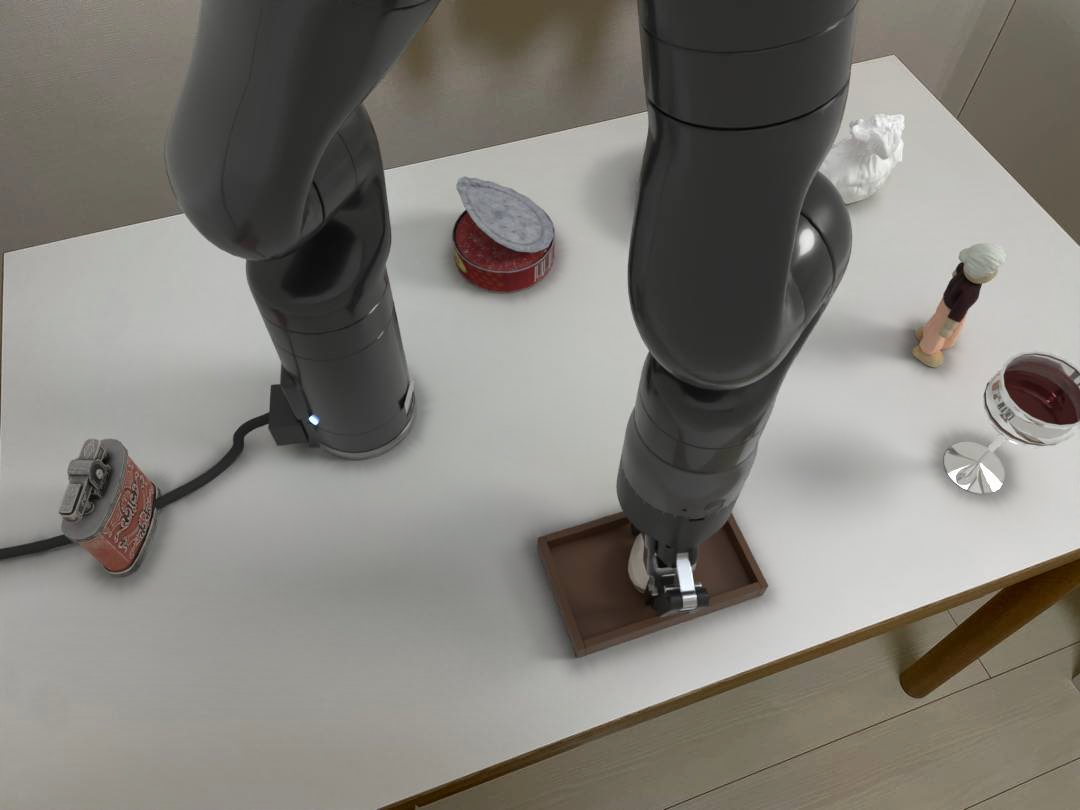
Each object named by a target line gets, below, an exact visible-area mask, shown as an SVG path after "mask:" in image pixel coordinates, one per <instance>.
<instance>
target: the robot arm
mask: <svg viewBox="0 0 1080 810" xmlns="http://www.w3.org/2000/svg"><path fill="white" fill-rule="evenodd" d="M441 2H442V0H200V1H199V8H198V14H197V21H196V28H195V34H194V41H193V45H192V50H191V54H190V58H189V61H188V65H187V68H186V72H185V75H184V77H183V80H182V84H181V87H180V90H179V93H178V97H177V100H176V103H175V105H174V108H173V112H172V114H171V116H170V120H169V123H168V127H167V130H166V134H165V138H164V145H163V160H164V166H165V172H166V176H167V179H168V182H169V183H168V184H169V185H170V189H171V191H172V193H173V195H174V198H175V200H176V202H177V204H178V206H179V207H180V209H181V211H182V212H183V214H184V215H185V217H186V218H187V220H188V221H189V222H190V224H191V225H192V226H193V227H194V228H195V230H197V232H198V233H199V234H200V235H201V236H202V237H203V238H204V239H206V240H207V241H208V242H209V243H211V244H212V245H213V246H215V247H216V248H218V249H220V251H223V252H225V253H227V254H229V255H231V256H233V257H236V258H240V259H243V260H245V276H246V277H245V278H246V282H247V285H248V288H249V290H250V293H251V296H252V298H253V300H254V302H255V305H256V307H257V309H258V311H259V314H260V316H261V318H262V321H263V323H264V326H265V328H266V330H267V332H268V335H269V337H270V340H271V342H272V344H273V346H274V349H275V351H276V353H277V356H278V358H279V361H280V375H279V383H275V384H271V385H270V391H269V393H270V395H269V408H268V409H269V411H268V412H266V413H264V414H261V415H258V416H256V417H253V418H250V419H249V420H247V421H245V422H243V423H242V424H241V425H240V426H239V427H238V428H237V429H235V432H233V436H232V446H231V447H230V449H229V450H228V451H227V453H226V454H225V455H224V456H223V457H222V458H221V459H220V460H219V461H218V462H216V463H215V464H214V465H213V466H212V467H211V468H209V469H208V470H206V471H205V472H203V473H201V474H200V475H199V476H197V477H195V478H193V479H191V480H190V481H188V482H187V483H184V484H182V485H180V486H179V487H177V488H175V489H173V490H171V491H169V492H167V493H164V494H163V495H161V497H159V498H157V499H155V500H153V509H154V508H155V507H156V509H157V510H159V509H160V510H161V509H162V508H164V507H167V506H169V505H171V504H172V503H174V502H176V501H179V500H180V499H183V498H185V497H187V496H188V495H190V494H192V493H193V492H196V491H197V490H199V489H201V488H203V487H204V486H206V485H207V484H209V483H210V482H212V481H213V480H215V479H216V478H218V477H219V476H220V475H221V474H222V473H223V472H225V471H226V470H227V469H228V468H229V467H230V466H231V465H232V464H233V463H234V462H236V460H237V459H238V457H239V456H240V455H241V453H242V452H243V450H244V448H245V437H246V436H247V435H249V433H251V432H253V431H254V430H257V429H259V428H261V427H265V426H267V427H268V430H269V433H270V434H271V437H272V439H273V441H274V442H275V445H276V446H277V447H279V446H281V447H282V446H290V445H291V446H292V445H301V444H302V445H303V444H306V446H307V448H311V449H312V448H320V449H322V450H323V451H324V452H326V453H328V454H330V455H332V456H335V457H337V458H341V459H347V460H367V459H370V458H371V459H372V458H374V457H378V456H380V455H383V454H385V453H387V452H389V451H391V450H392V449H394V448H395V447H397V446H398V445H399V444H400V443H402V441H403V440H404V439H405V438H407V436H408V434H409V433H410V431H411V430H412V429H413V426H414V424H415V421H416V416H417V400H416V395H415V392H414V389H415V381H414V376H413V375H411V377H410V373H409V368H408V362H407V358H406V353H405V349H404V344H403V343H404V342H403V338H402V335H401V328H400V325H399V320H398V315H397V311H396V306H395V300H394V296H393V292H392V287H391V282H390V277H389V272H388V267H387V262H388V258H389V256H390V252H391V247H392V239H393V237H392V226H391V225H392V224H391V217H390V209H389V208H390V207H389V200H388V191H387V184H386V177H385V176H386V175H385V170H384V164H383V163H384V162H383V161H384V160H383V156H382V152H381V147H380V143H379V139H378V136H377V133H376V130H375V127H374V124H373V122H372V119H371V116H370V114H369V112H368V110H367V108H366V106H365V104H364V102H365V100H367V98H368V97H369V96H370V95H371V93H372V92H373V91H374V90H375V89H376V88H377V86H379V85H380V83H381V82H382V81H383V79H384V78H385V77H386V76H387V74H388V73H389V72H390V71H391V70H392V69H393V68H394V66H395V65H396V64H397V62H398V61H399V60H400V58H401V57H402V56H403V54H404V53H405V52H406V50H407V49H408V48H409V46H410V45H411V43H413V41H414V39H415V38H416V37H417V35H418V34H419V33H420V31H421V30H422V29H423V28H424V26H425V25H426V23H428V21H429V20H430V18H431V17H432V15H433V13H434V12H435V11H436V9H437V8H438V6H439V5H440V3H441ZM859 3H860V0H636V5H637V17H638V20H637V21H638V29H639V31H638V32H639V42H640V53H641V63H642V64H641V66H642V74H643V77H642V78H643V85H644V93H645V94H644V97H645V103H646V105H645V106H646V111H647V119H648V120H647V121H648V123H647V124H648V127H647V135H646V141H645V147H644V151H643V155H644V156H642V161H641V164H640V170H639V176H638V181H637V187H636V195H635V205H634V210H633V218H632V224H631V232H630V239H629V248H628V258H627V293H628V300H629V306H630V311H631V316H632V318H633V321H634V325H635V327H636V329H637V332H638V334H639V336H640V338H641V340H642V342H643V344H644V346H645V347H646V348H647V350H648V351H647V354H646V356H645V359H644V362H643V365H642V368H641V372H640V378H639V382H638V389H637V394H636V397H635V404H634V406H633V408H632V410H631V413H630V415H629V417H628V420H627V424H626V427H625V433H624V438H623V444H622V449H621V455H620V459H619V465H618V471H617V476H616V484H615V487H616V497H617V501H618V504H619V506H620V508H621V510H622V511H623V512H624V514H625V515H626V517H627V518H628V520H629V521H630V522H631V531H632V535H634V536H638V535H639V534H640V533H641V534H642V537H643V541H644V552H643V562H644V565H645V569H646V572H647V575H648V576H649V580H648V583H647V586H646V589H645V592H644V600H645V605H651V607H652V609H653V610H654V612H655V613H656V616H657V618H659V617H665V616H671V615H679V614H693V613H695V612H697V611H699V610H701V609H703V608H705V607H708V605H709V600H710V596H709V593H708V592H707V589H706V587H702V586H701V583H700V582H695V583H694V581H693V575H692V572H693V571H694V570H695V569H696V562H697V560H698V557H699V545H700V544H701V543H702V542H703V541H705V540H706V539H708V538H709V537H711V536H712V535H713V534H715V533H716V532H717V531H718V530H719V529H720V528H721V527H722V526H723V525H724V524H725V523H726V521H727V520H728V518H729V516H730V514H731V512H732V513H733V510H734V508H735V505H736V503H737V501H738V499H739V497H740V495H741V492H742V490H743V488H744V486H745V483H746V481H747V479H748V477H749V475H750V472H751V471H752V468H753V466H754V463H755V460H756V457H757V453H758V447H759V442H760V440H761V438H762V435H763V433H764V431H765V428H766V426H767V424H768V422H769V419H770V417H771V415H772V413H773V410H774V407H775V404H776V400H777V397H778V395H779V392H780V390H781V387H782V385H783V382H784V381H785V378H786V376H787V374H788V372H789V370H790V368H791V366H792V365H793V364H794V362H795V360H796V359H797V357H798V355H799V354H800V352H801V351H802V349H803V347H804V346H805V344H806V342H807V341H808V339H809V338H810V336H811V334H812V332H813V331H814V329H815V327H816V326H817V325H818V322H819V321H820V319H821V317H822V316H823V314H824V312H825V311H826V309H827V308H828V306H829V303H830V302H831V300H832V298H833V296H834V295H835V293H836V291H837V289H838V287H839V286H840V284H841V282H842V279H843V278H844V275H845V273H846V271H847V269H848V266H849V263H850V259H851V255H852V248H853V228H852V227H853V226H852V220H851V216H850V213H849V209H848V207H847V205H846V204H845V202H844V200H843V198H842V196H841V195H840V193H839V191H838V190H837V188H836V187H835V186H834V184H833V183H832V182H831V181H830V180H829V179H828V178H827V177H826V176H825V175H824V174H822V173H821V172H820V171H818V170H819V168H820V166H821V165H822V163H823V161H824V160H825V158H826V156H827V155H828V153H829V151H830V149H831V147H832V146H833V145H834V144H835V141H836V139H837V137H838V135H839V132H840V129H841V126H842V123H843V120H844V115H845V111H846V107H847V102H848V98H849V91H850V82H851V74H852V65H853V58H854V57H853V56H854V48H855V39H856V31H857V21H858V14H859V13H858V11H859V5H860V4H859ZM75 543H76V542H73V541H72V540H70V539H69V538H67V537H66V536H65V535H64V533H63V534H60V535H57V536H52V537H49V538H46V539H41V540H37V541H33V542H28V543H24V544H19V545H14V546H8V547H2V548H0V561H1V560H8V559H14V558H19V557H23V556H29V555H34V554H37V553H42V552H46V551H50V550H54V549H58V548H61V547H65V546H68V545H71V544H75ZM655 553H656V555H655ZM669 574H675V575H669ZM663 575H669V576H663Z"/></svg>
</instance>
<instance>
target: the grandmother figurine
mask: <svg viewBox="0 0 1080 810" xmlns="http://www.w3.org/2000/svg"><path fill="white" fill-rule="evenodd" d="M1007 256H1008V253H1007V251H1006V249H1005V248H1003V247H1002V246H1001V245H998V244H995V243H991V242H981V243H976V244H973V245H971V246H969V247H965V248H964V249H961V250H960V251H959V254H958V260H959V261H960V262H959V263H958V264H957V266H956V267H955V269H954V271H953V272H952V274H951V276H952V277H951V278H950V280H949V281H948V284H947V286H946V288H945V290H944V292H943V294H942V298H941V299H940V302H939V303H938V305H937V307H936V309H935V312H934V313H933V315H932V316H931V317H930V318H929V320H928V321H927V322H926V323H925V324H924V326H920V327H918V328H916V330H915V332H914V336H915V339H917V341H918V342H919V341H920V342H919V344H917V345H915V346H914V347H913V348H912V349H911V353H912V356H913V357H914V358H916V360H919V361H920V362H921V363H923V364H925V365H926V366H927V367H931V368H939V367H940V366H941V365H942V364H943V362H944V355H943V353H942V351H941V350H943V349H950V348H952V347H953V346H954V345H955V344H956V342H957V340H958V338H959V336H960V334H961V332H962V330H963V328H964V324H965V323H966V319H967V316H968V314H969V310H970V308H971V307H972V306H973V305H975V303H976V302H977V301H978V299H979V298H980V292H981V290H982V286H983V284H987V283H989V282H991V281H992V280H994V278H996V277H997V275H998V273H999V269H1000V268H1001V267H1002V266H1003V265H1004V263H1005V260H1006V258H1007Z"/></svg>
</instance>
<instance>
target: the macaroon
mask: <svg viewBox="0 0 1080 810" xmlns="http://www.w3.org/2000/svg"><path fill="white" fill-rule="evenodd" d="M643 552H644V541H643V537H642V534H641V533H640V534H639V535H638V536H637V538H636V540H635V542H634V545H633V547H632V550H631V554H630V558H629V563H628V575H629V579H630V581H631V583H632V584H633V586H634V587H635V588H636V589H637V590H638V591H640V592H641V593H644V592H645V589H646V586H647V583H648V580H649V576H648V575H647V572H646V569H645V565H644V562H643ZM655 555H656V553H655ZM669 575H675V574H669ZM669 575H663V576H669Z"/></svg>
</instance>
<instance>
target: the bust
mask: <svg viewBox="0 0 1080 810" xmlns="http://www.w3.org/2000/svg"><path fill="white" fill-rule="evenodd" d="M848 126H849V128H850V130H849V134H850V135H851V136H847V137H844V138H842V139H841V140H840V141H838V142H837V143H836V144H833V145H832V147H831V149H830V151H829V153H828V155H827V156H826V158H825V160H824V161H823V163H822V165H821V166H820V168H819V170H818V171H820V172H821V173H822V174H824V175H825V176H826V177H827V178H828V179H829V180H830V181H831V182H832V183H833V184H834V186H835V187H836V188H837V190H838V191H839V193H840V195H841V196H842V198H843V200H844V202H845V204H847V205H848V204H852V203H856V202H859V201H862V200H865V199H868V198H870V197H871V196H872V195H873V194H875V193H876V192H877V191H879V190H880V189H881V188H882V187H883V186H884V184H885V182H886V181H887V180H888V178H889V177H890V174H891V172H892V171H893V170H894V169H895V167H896V166H898V165H899V164H901V162H902V161H903V160H904V159H903V152H904V145H905V143H904V140H903V139H902V135H903V134H902V133H903V132H904V129H905V126H906V124H905V116H904V114H901V113H896V114H891V115H889V114H885V113H882V112H880V113H878V112H877V113H876V114H874V115H872V116H871V117H869V119H868V120H867V121H865V119H862V118H859V119H858V118H857V119H852V120H851V121H850V122H849V124H848Z"/></svg>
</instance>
